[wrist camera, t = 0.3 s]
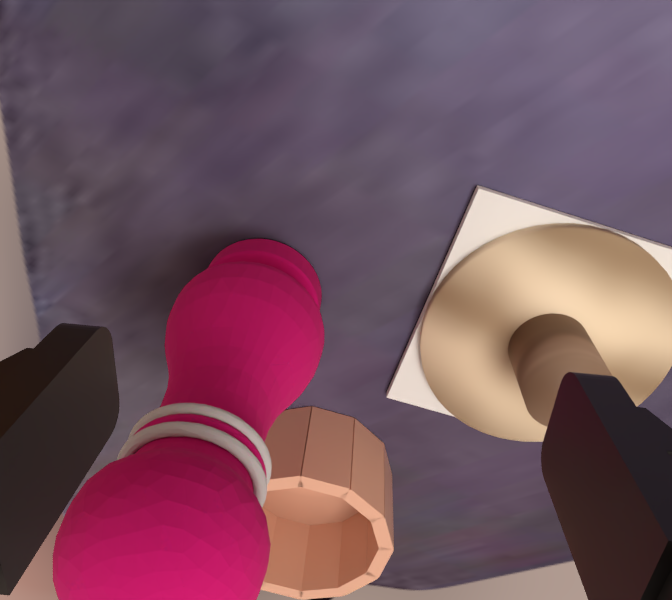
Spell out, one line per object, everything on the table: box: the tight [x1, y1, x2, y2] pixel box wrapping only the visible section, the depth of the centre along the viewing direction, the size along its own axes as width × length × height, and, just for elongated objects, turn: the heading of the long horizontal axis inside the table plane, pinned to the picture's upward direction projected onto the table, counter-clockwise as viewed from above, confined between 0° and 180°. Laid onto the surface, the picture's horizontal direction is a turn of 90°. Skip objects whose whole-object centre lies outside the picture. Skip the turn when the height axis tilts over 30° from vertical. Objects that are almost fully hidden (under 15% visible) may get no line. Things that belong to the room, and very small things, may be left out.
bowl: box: [260, 406, 394, 599], centre depth 34 cm, size 10×10×6 cm
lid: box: [420, 223, 672, 442], centre depth 28 cm, size 13×13×5 cm
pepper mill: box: [53, 239, 324, 600], centre depth 22 cm, size 7×7×20 cm
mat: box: [387, 185, 672, 417], centre depth 30 cm, size 13×13×1 cm
